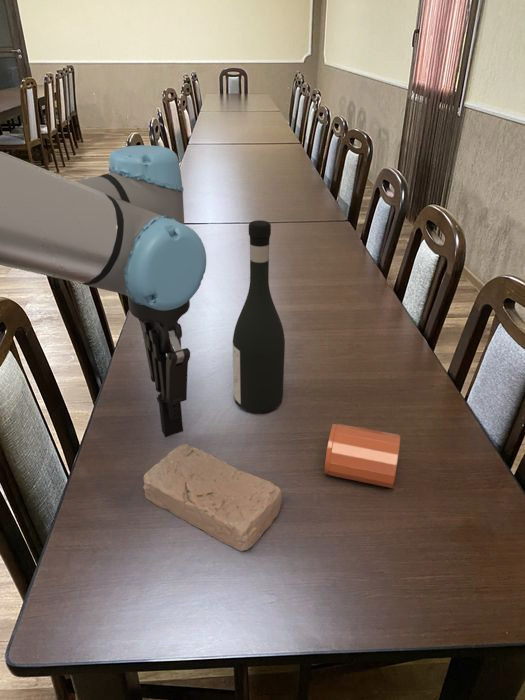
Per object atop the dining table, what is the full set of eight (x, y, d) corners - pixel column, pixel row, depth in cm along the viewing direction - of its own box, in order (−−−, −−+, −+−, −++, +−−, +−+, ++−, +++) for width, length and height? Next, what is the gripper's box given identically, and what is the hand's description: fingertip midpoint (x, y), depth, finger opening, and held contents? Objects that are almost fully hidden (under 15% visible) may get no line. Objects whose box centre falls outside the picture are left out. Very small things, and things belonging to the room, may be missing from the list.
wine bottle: (226, 410, 86) (221, 228, 71) (243, 383, 93) (242, 211, 77) (274, 420, 84) (279, 235, 69) (288, 392, 90) (296, 217, 75)
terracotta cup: (322, 473, 69) (393, 487, 67) (332, 419, 71) (401, 432, 69) (326, 475, 76) (391, 488, 74) (335, 426, 77) (398, 438, 75)
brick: (141, 499, 70) (137, 473, 67) (183, 462, 76) (181, 436, 73) (246, 560, 62) (246, 533, 60) (283, 513, 68) (285, 486, 66)
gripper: (207, 295, 62) (214, 449, 75) (167, 258, 72) (180, 400, 84) (144, 309, 59) (163, 467, 71) (112, 268, 69) (133, 414, 81)
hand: (172, 431), depth 78 cm, fingers closed
